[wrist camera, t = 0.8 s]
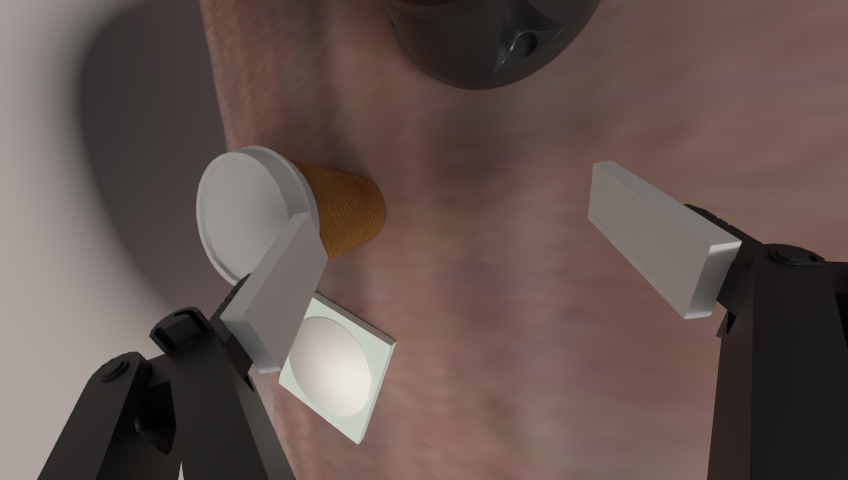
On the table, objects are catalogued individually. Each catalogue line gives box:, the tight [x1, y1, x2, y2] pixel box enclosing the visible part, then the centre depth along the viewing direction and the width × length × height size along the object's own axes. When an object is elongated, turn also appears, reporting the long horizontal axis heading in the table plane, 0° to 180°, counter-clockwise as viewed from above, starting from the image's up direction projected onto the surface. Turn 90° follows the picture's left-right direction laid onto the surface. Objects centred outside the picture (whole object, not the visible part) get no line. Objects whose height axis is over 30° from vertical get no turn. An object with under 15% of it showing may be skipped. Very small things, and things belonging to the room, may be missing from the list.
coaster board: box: [279, 292, 396, 444], centre depth 34 cm, size 13×12×1 cm
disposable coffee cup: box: [196, 146, 386, 286], centre depth 25 cm, size 10×10×12 cm
